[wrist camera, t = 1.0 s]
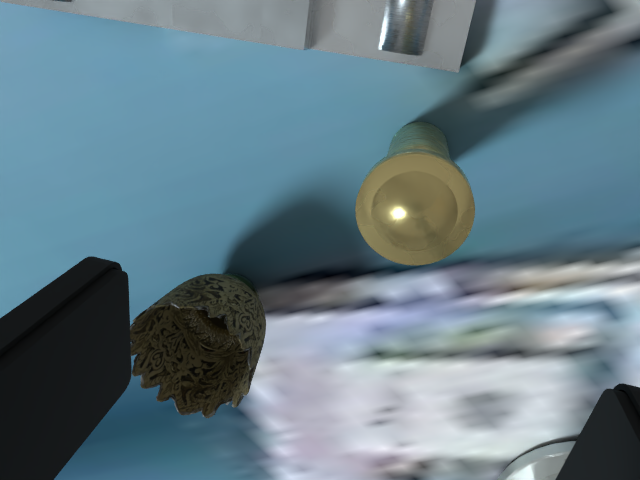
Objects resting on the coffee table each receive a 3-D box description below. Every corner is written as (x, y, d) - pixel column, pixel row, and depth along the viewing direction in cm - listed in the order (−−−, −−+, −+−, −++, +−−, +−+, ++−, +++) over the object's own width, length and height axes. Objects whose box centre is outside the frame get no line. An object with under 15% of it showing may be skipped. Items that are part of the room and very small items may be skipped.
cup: (252, 227, 31) (199, 287, 24) (308, 316, 33) (275, 397, 26) (167, 268, 34) (97, 334, 27) (224, 349, 36) (173, 431, 29)
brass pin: (468, 118, 26) (489, 167, 17) (448, 194, 28) (457, 275, 19) (387, 104, 26) (366, 144, 17) (372, 180, 28) (347, 252, 19)
